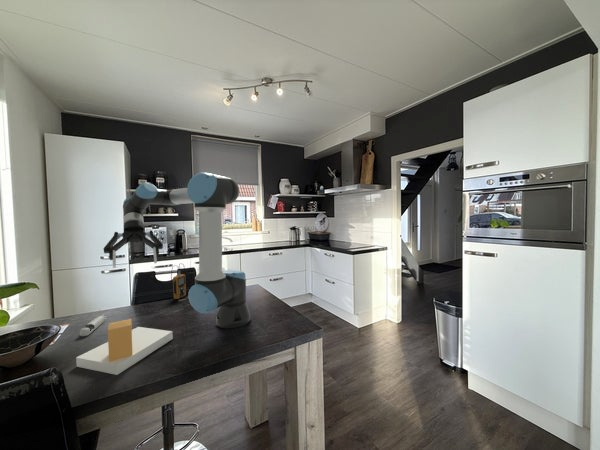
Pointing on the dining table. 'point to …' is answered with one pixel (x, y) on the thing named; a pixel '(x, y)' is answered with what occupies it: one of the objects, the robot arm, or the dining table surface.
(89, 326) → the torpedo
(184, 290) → the multimeter
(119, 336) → the orange upright block
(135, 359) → the white base board
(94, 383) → the dining table surface
